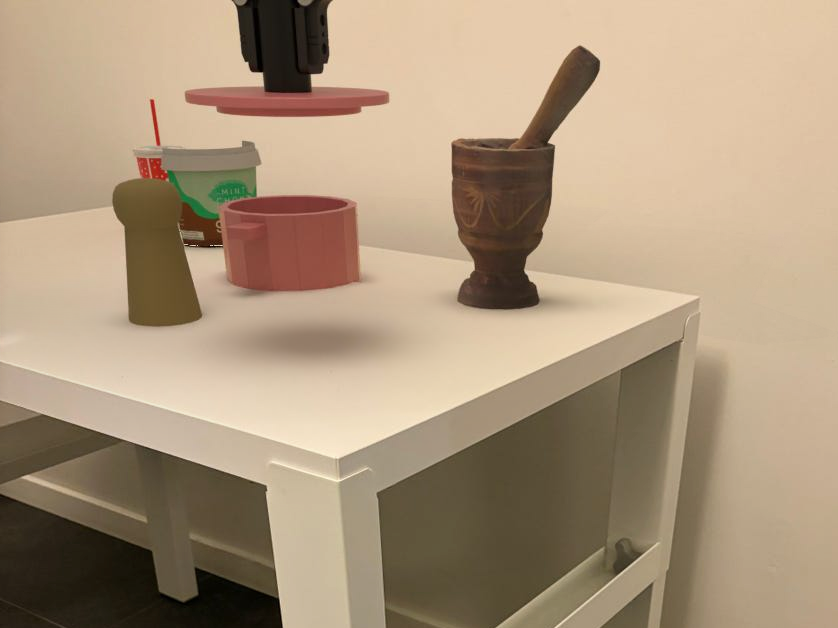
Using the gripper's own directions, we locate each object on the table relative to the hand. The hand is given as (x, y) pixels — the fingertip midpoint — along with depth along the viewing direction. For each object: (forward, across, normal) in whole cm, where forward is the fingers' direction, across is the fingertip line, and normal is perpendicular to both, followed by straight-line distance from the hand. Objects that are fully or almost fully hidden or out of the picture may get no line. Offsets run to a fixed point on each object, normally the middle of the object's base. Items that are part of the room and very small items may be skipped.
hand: (287, 71), depth 66 cm
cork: (+19, -14, +2) cm, 24 cm away
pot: (+19, -13, +20) cm, 30 cm away
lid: (+2, 0, 0) cm, 2 cm away
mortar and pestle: (+19, +10, +19) cm, 29 cm away
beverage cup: (+19, -42, +41) cm, 61 cm away
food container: (+19, -30, +36) cm, 50 cm away
